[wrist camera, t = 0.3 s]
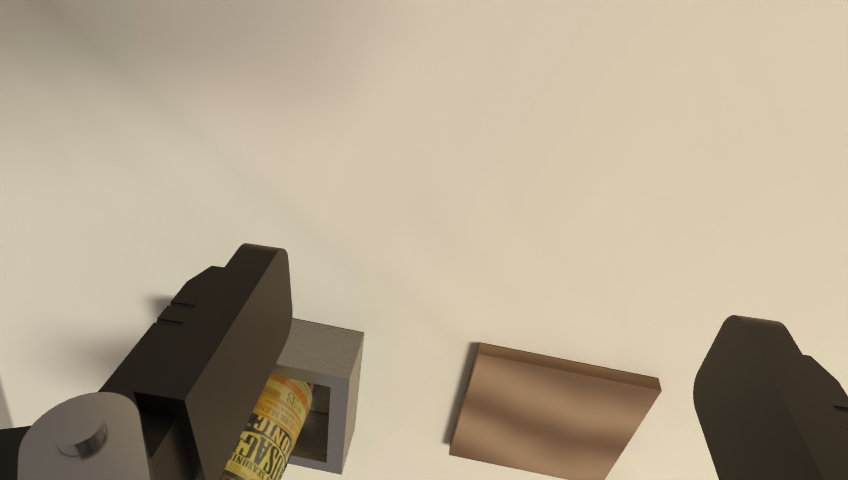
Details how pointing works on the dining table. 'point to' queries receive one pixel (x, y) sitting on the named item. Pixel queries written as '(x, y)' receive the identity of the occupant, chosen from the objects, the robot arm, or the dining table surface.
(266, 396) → the sauce bottle
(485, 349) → the walnut board
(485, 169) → the dining table surface
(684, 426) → the dining table surface
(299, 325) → the grey shallow box
